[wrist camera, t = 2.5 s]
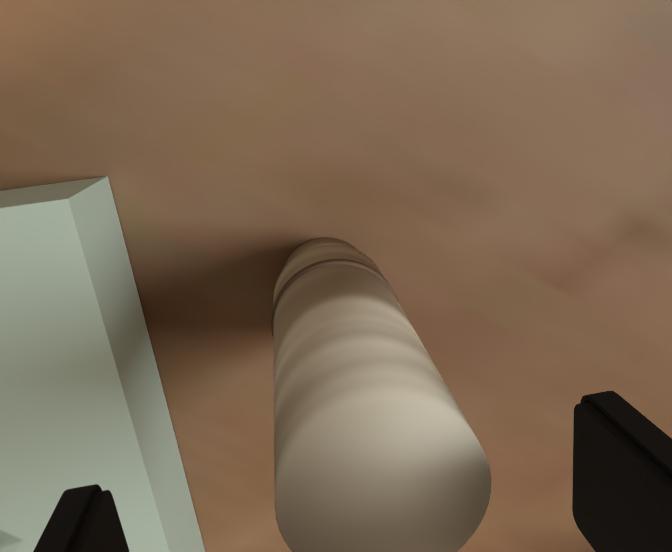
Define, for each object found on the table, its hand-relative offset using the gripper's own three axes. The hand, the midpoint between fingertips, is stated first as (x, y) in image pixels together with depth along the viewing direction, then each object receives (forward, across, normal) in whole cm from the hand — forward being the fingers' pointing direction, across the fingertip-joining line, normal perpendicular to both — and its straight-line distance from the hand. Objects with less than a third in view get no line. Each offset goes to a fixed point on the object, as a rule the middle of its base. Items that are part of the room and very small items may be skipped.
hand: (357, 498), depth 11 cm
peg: (+11, -1, -1) cm, 11 cm away
